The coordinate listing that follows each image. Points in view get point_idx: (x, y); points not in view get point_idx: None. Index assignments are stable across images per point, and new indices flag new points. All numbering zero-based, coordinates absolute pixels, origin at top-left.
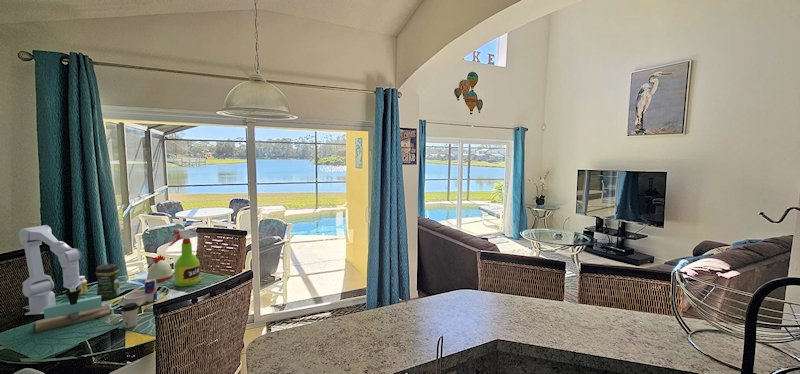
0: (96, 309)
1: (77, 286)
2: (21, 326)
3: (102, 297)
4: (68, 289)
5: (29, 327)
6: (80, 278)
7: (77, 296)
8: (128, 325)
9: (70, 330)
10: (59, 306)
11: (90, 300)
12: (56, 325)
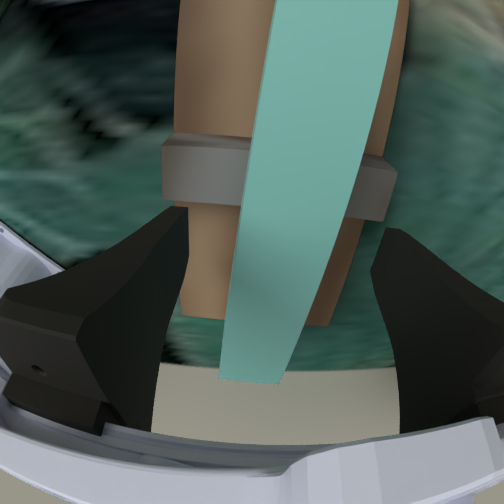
0: (243, 17)
1: (112, 322)
2: (183, 339)
3: (5, 4)
4: (150, 385)
5: (223, 326)
6: None
7: (469, 289)
8: None
9: (451, 215)
10: (302, 325)
11: (377, 78)
12: (348, 262)
